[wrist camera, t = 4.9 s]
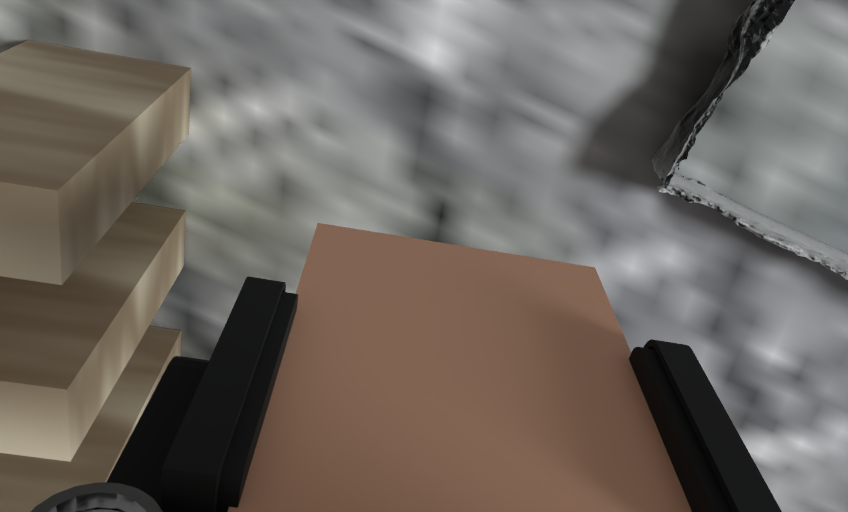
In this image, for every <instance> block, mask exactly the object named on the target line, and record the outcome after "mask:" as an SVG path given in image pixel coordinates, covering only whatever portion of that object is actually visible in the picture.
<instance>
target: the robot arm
mask: <svg viewBox="0 0 848 512" xmlns="http://www.w3.org/2000/svg"><path fill="white" fill-rule="evenodd" d="M285 289H286V284H285V282H280V281H273V280H267V279H261V278H254V277H247V278H246V280H245V282H244V284H243V287H242V289H241V291H240V293H239V296H238V298H237V300H236V302H235V305H234V307H233V309H232V311H231V314H230V316H229V318H228V320H227V323H226V325H225V327H224V329H223V332H222V334H221V336H220V338H219V341H218V343H217V345H216V347H215V350H214V352H213V354H212V356H211V359H210V361H208V360H201V359H195V358H188V357H181V356H175V357H173V358H172V359H171V361H170V362H169V364H168V366H167V368H166V370H165V371H164V373H163V375H162V377H161V379H160V381H159V383H158V385H157V387H156V389H155V391H154V392H153V394H152V396H151V398H150V400H149V402H148V404H147V406H146V408H145V410H144V411H143V413H142V415H141V417H140V419H139V421H138V423H137V425H136V427H135V429H134V431H133V432H132V434H131V436H130V438H129V440H128V442H127V444H126V446H125V448H124V450H123V451H122V453H121V455H120V457H119V459H118V461H117V463H116V465H115V467H114V469H113V470H112V472H111V474H110V476H109V478H108V480H107V482H106V483H104V482H97V483H91V484H85V485H79V486H74V487H72V488H69V489H67V490H64V491H61V492H59V493H56V494H54V495H52V496H51V497H49V498H48V499H46V500H45V501H43V502H42V503H40V504H39V505H37V506H35V508H34V509H33V510H32V511H31V512H228V508H229V507H235V508H238V505H239V502H240V499H241V495H242V492H243V489H244V485H245V482H246V479H247V475H248V472H249V468H250V465H251V462H252V458H253V455H254V452H255V448H256V445H257V442H258V438H259V435H260V432H261V428H262V425H263V421H264V418H265V415H266V411H267V408H268V405H269V401H270V398H271V395H272V391H273V388H274V384H275V381H276V378H277V374H278V371H279V368H280V364H281V361H282V358H283V354H284V351H285V348H286V344H287V341H288V337H289V334H290V331H291V327H292V324H293V321H294V317H295V314H296V311H297V304H298V294H294V293H287V292H285ZM629 361H630V364H631V366H632V368H633V371H634V373H635V376H636V378H637V380H638V383H639V385H640V388H641V390H642V393H643V395H644V397H645V400H646V402H647V405H648V407H649V409H650V412H651V414H652V417H653V419H654V421H655V424H656V426H657V429H658V431H659V434H660V436H661V438H662V441H663V443H664V446H665V448H666V450H667V453H668V455H669V458H670V460H671V462H672V465H673V467H674V470H675V472H676V475H677V477H678V479H679V482H680V484H681V487H682V489H683V491H684V494H685V496H686V499H687V501H688V503H689V506H690V508H691V511H692V512H782V511H781V510H780V508H779V506H778V504H777V502H776V501H775V499H774V497H773V495H772V493H771V492H770V490H769V488H768V486H767V484H766V483H765V481H764V479H763V477H762V475H761V474H760V472H759V470H758V468H757V466H756V464H755V463H754V461H753V459H752V457H751V455H750V454H749V452H748V450H747V448H746V446H745V445H744V443H743V441H742V439H741V437H740V436H739V434H738V432H737V430H736V428H735V427H734V425H733V423H732V421H731V419H730V418H729V416H728V414H727V412H726V410H725V409H724V407H723V405H722V403H721V401H720V399H719V398H718V396H717V394H716V392H715V390H714V389H713V387H712V385H711V383H710V381H709V380H708V378H707V376H706V374H705V372H704V371H703V369H702V367H701V365H700V363H699V362H698V360H697V358H696V356H695V354H694V353H693V351H692V349H691V348H690V347H689V346H688V345H683V344H677V343H671V342H664V341H658V340H649V341H648V342H647V343H646V344H645V346H644V348H642V347H636V348H634V349H633V351H632V353H631V355H630V357H629Z"/></svg>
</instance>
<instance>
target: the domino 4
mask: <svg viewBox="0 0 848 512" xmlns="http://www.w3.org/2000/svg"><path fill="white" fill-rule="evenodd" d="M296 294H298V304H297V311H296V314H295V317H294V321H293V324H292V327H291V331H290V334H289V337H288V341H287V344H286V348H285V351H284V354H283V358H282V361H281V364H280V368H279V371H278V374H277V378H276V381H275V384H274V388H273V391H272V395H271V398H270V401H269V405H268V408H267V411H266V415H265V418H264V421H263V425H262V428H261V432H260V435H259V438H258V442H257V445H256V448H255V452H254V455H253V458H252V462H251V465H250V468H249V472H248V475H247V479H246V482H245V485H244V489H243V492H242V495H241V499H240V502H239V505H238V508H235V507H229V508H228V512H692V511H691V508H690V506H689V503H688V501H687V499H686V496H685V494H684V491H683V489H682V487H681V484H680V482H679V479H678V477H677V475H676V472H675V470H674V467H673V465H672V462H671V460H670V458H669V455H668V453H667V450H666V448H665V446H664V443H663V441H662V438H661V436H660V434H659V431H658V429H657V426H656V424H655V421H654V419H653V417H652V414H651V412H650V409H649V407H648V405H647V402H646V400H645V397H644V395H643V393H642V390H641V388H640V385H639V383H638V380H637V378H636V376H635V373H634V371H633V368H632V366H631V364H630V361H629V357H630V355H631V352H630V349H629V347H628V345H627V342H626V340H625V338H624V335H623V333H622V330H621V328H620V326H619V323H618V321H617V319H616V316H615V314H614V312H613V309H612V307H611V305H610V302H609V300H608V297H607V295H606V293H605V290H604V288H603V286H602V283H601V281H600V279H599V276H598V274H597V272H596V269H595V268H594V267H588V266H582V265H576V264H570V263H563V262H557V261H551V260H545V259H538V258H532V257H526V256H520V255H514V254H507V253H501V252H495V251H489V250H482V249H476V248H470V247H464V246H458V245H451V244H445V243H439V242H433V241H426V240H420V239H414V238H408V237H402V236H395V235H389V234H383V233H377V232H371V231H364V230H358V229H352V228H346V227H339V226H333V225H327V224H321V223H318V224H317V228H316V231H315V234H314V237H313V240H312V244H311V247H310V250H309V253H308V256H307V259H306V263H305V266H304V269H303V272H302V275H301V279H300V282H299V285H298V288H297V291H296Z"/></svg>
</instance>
